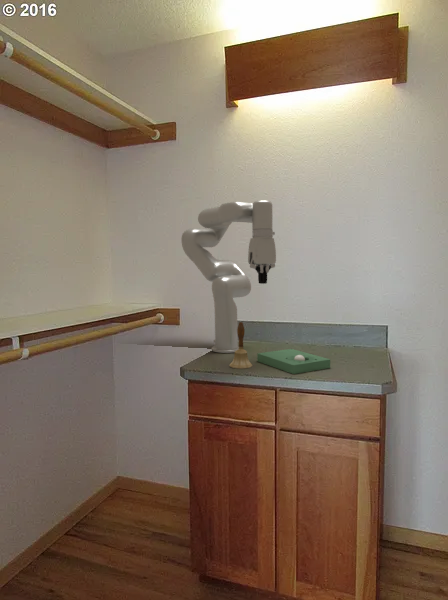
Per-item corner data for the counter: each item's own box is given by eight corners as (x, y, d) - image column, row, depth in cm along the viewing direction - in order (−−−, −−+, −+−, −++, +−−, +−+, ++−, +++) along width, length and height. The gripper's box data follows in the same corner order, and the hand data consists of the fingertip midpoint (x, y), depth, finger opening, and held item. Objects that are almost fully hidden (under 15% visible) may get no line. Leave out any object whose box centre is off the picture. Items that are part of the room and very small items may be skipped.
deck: (257, 361, 164) (257, 353, 163) (291, 356, 171) (291, 348, 171) (293, 374, 144) (293, 365, 144) (330, 367, 152) (330, 359, 152)
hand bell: (256, 364, 158) (256, 321, 157) (245, 369, 151) (245, 324, 150) (236, 362, 162) (235, 320, 161) (225, 367, 155) (224, 323, 154)
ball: (292, 366, 154) (291, 355, 155) (302, 366, 156) (301, 355, 157) (297, 365, 151) (296, 353, 152) (307, 365, 152) (306, 354, 153)
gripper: (273, 235, 170) (273, 282, 171) (240, 234, 163) (240, 283, 164) (284, 234, 163) (284, 283, 165) (250, 233, 156) (251, 284, 158)
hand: (262, 283), depth 165 cm, fingers closed
